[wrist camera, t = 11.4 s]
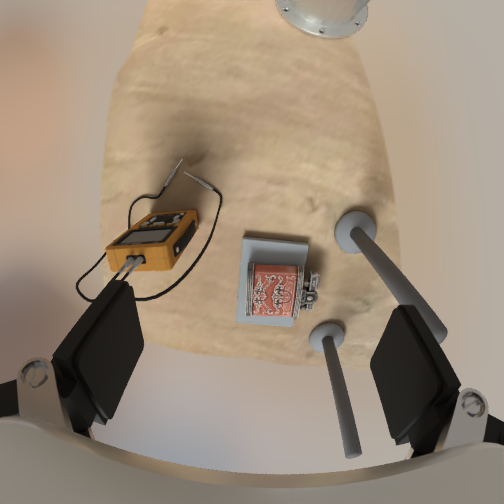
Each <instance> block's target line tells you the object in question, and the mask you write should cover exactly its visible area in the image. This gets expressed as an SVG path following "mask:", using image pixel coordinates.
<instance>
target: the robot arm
mask: <svg viewBox="0 0 504 504" xmlns="http://www.w3.org/2000/svg"><path fill="white" fill-rule="evenodd" d="M369 1H370V0H276V6H277V8H278V10H279V12H280V14H281V15H282V16H283V18H284V19H285V20H286V21H287V22H288V23H289V24H291V25H292V26H294V27H295V28H296V29H298V30H300V31H302V32H304V33H306V34H309V35H312V36H315V37H320V38H326V39H340V38H345V37H348V36H351V35H353V34H355V33H356V32H357V31H359V30H360V29H361V28H362V27H363V26H364V24H365V22H366V21H367V17H368V7H367V3H368V2H369ZM285 10H286V11H287V12H286V11H285ZM356 24H357V25H356ZM320 32H322V33H323V34H322V33H320ZM143 348H144V339H143V335H142V331H141V326H140V322H139V317H138V312H137V307H136V302H135V296H134V291H133V288H132V286H129V283H128V282H127V281H121V280H115V279H113V280H111V281H110V282H109V283H108V284H107V285H106V287H105V288H104V289H103V290H102V292H101V293H100V294H99V295H98V296H97V298H96V299H95V300H94V301H93V302H92V304H91V305H90V306H89V307H88V309H87V310H86V311H85V313H84V314H83V315H82V316H81V318H80V319H79V320H78V321H77V323H76V324H75V325H74V327H73V328H72V329H71V331H70V332H69V333H68V335H67V336H66V338H65V339H64V340H63V341H62V343H61V344H60V346H59V347H58V348H57V350H56V351H55V352H54V354H53V355H52V356H53V359H52V360H51V362H50V361H49V360H48V359H46V358H43V357H33V358H31V359H28V360H27V361H26V362H24V363H23V364H22V365H21V367H20V368H19V370H18V373H17V379H16V380H13V381H9V382H6V383H3V384H0V504H504V422H503V421H501V420H499V419H497V418H495V417H493V416H491V415H490V414H488V403H487V401H486V399H485V397H484V396H483V395H482V394H481V393H480V392H479V391H477V390H475V389H472V388H467V389H464V390H462V391H461V392H459V390H458V389H459V387H460V386H461V383H460V381H459V379H458V378H457V376H456V374H455V372H454V370H453V368H452V366H451V365H450V363H449V361H448V359H447V357H446V356H445V354H444V352H443V350H442V349H441V347H440V345H439V343H438V342H437V340H436V338H435V337H434V335H433V333H432V332H431V330H430V329H429V327H428V325H427V324H426V322H425V321H424V319H423V317H422V316H421V314H420V313H419V311H418V310H417V308H416V307H415V306H414V305H406V304H401V305H399V306H398V307H397V308H395V309H394V310H393V312H392V314H391V317H390V319H389V321H388V324H387V326H386V328H385V331H384V333H383V335H382V337H381V339H380V342H379V344H378V346H377V348H376V350H375V352H374V354H373V356H372V358H371V361H370V368H371V371H372V374H373V377H374V380H375V383H376V387H377V390H378V393H379V396H380V400H381V403H382V407H383V410H384V413H385V417H386V421H387V424H388V428H389V432H390V435H391V437H392V438H393V439H395V442H396V445H400V444H405V443H409V442H410V444H411V448H410V450H409V452H408V454H407V456H406V458H405V460H403V461H399V462H394V463H390V464H385V465H380V466H374V467H369V468H363V469H356V470H348V471H341V472H330V473H317V474H291V475H276V474H274V475H273V474H249V473H237V472H227V471H218V470H210V469H203V468H197V467H191V466H186V465H180V464H176V463H171V462H166V461H162V460H157V459H154V458H150V457H146V456H142V455H139V454H135V453H132V452H128V451H126V450H122V449H119V448H116V447H113V446H110V445H107V444H104V443H101V442H98V441H96V440H95V438H94V435H93V432H92V430H91V425H92V423H93V421H94V422H97V423H100V424H102V425H106V423H107V420H108V419H112V418H113V416H114V413H115V411H116V409H117V406H118V404H119V402H120V399H121V397H122V395H123V392H124V390H125V388H126V386H127V383H128V381H129V379H130V377H131V375H132V372H133V370H134V368H135V366H136V363H137V361H138V359H139V357H140V355H141V353H142V351H143Z"/></svg>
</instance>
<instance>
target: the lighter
mask: <svg viewBox="0 0 504 504" xmlns="http://www.w3.org/2000/svg"><path fill="white" fill-rule="evenodd" d="M319 277H320V273H319V272H318V271H310V276H309V280H308V279H304V267H303V265H297V266H280V265H260V264H254V263H248V264H247V281H246V308H245V316H252V315H259V316H282V317H292V318H298V315H299V310H300V309H302V310H306V311H313V307H314V302H316V301H317V300H318V295H317V292H316V288H317V289H318V284H319ZM307 284H308V287H305V286H304V285H307Z"/></svg>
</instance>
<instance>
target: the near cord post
mask: <svg viewBox="0 0 504 504" xmlns="http://www.w3.org/2000/svg"><path fill="white" fill-rule="evenodd" d="M334 234H335V239H336V242H337V243H338V245H339V246H340V248H341V249H342V250H344V251H345V252H347V253H351V254H357V253H361V252H362V253H363V254H364V255H365V257H366V258H367V259H368V261H369V262H370V263H371V265H372V266H373V267H374V269H375V270H376V272H377V273H378V274H379V276H380V277H381V278H382V280H383V281H384V283H385V284H386V285H387V287H388V288H389V290H390V291H391V292H392V294H393V295H394V297H395V298H396V300H397V301H398V303H399V304H400V305H401V304H406V305H414V306H415V307H416V308H417V310H418V311H419V313H420V314H421V316H422V317H423V319H424V321H425V322H426V324H427V325H428V327H429V329H430V330H431V332H432V333H433V335H434V337H435V338H436V340H437V342H438V343H439V344H441V343H442V342H443V341H444V339H445V338H446V336H447V333H448V332H447V328H446V327H445V326H444V324H443V323H442V322H441V320H440V319H439V318H438V316H437V315H436V314H435V312H434V311H433V310H432V309H431V307H430V306H429V305H428V304H427V302H426V301H425V300H424V299H423V297H422V296H421V295H420V294H419V292H418V291H417V290H416V289H415V288H414V286H413V285H412V284H411V283H410V282H409V281H408V279H407V278H406V277H405V276H404V275H403V273H402V272H401V271H400V270H399V269H398V268H397V267H396V265H395V264H394V263H393V262H392V261H391V260H390V259H389V258H388V256H387V255H386V254H385V253H384V252H383V251H382V250H381V249H380V248H379V247H378V246H377V244H376V243H375V242H374V239H375V236H376V226H375V223H374V221H373V220H372V219H371V218H370V217H369V216H368V215H367V214H365V213H363V212H361V211H351V212H348V213H346V214H344V215H343V216H342V217H341V218H340V219H339V220H338V222H337V224H336V226H335V231H334Z"/></svg>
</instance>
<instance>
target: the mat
mask: <svg viewBox="0 0 504 504" xmlns="http://www.w3.org/2000/svg"><path fill="white" fill-rule="evenodd" d="M308 247H309V245H308V243H303V242H293V241H284V240H274V239H264V238H254V237H243V240H242V252H241V264H240V277H239V290H238V303H237V316H236V322H240V323H250V324H261V325H273V326H287V327H293V322H294V318H292V317H282V316H259V315H252V316H245V308H246V281H247V264H248V263H254V264H260V265H280V266H297V265H303V267H304V269H305V264H306V258H307V253H308Z"/></svg>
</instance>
